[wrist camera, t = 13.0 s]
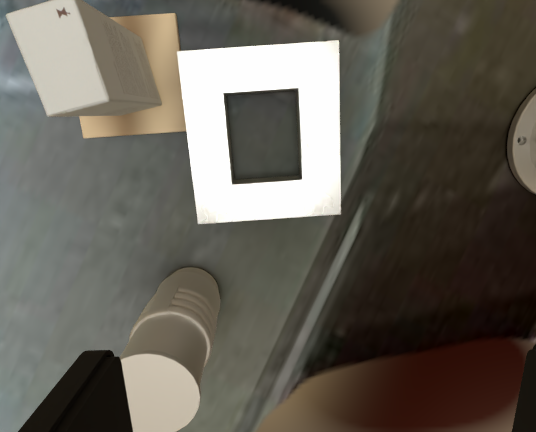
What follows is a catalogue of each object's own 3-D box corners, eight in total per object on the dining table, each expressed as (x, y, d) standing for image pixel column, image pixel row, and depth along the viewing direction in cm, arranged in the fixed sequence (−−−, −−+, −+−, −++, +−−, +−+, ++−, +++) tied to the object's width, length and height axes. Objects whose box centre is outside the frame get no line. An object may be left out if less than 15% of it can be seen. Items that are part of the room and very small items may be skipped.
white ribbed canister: (213, 256, 38) (184, 342, 23) (230, 313, 39) (212, 426, 25) (151, 270, 38) (83, 363, 23) (170, 325, 40) (118, 445, 25)
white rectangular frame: (331, 47, 32) (338, 40, 29) (334, 206, 36) (340, 214, 33) (184, 57, 32) (176, 51, 29) (203, 215, 36) (198, 223, 33)
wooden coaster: (176, 14, 31) (174, 13, 31) (190, 130, 34) (189, 130, 33) (63, 22, 31) (60, 20, 31) (86, 137, 34) (83, 138, 33)
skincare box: (96, 49, 31) (0, 9, 20) (142, 37, 31) (72, -11, 20) (120, 118, 33) (45, 118, 21) (164, 107, 33) (111, 100, 21)
